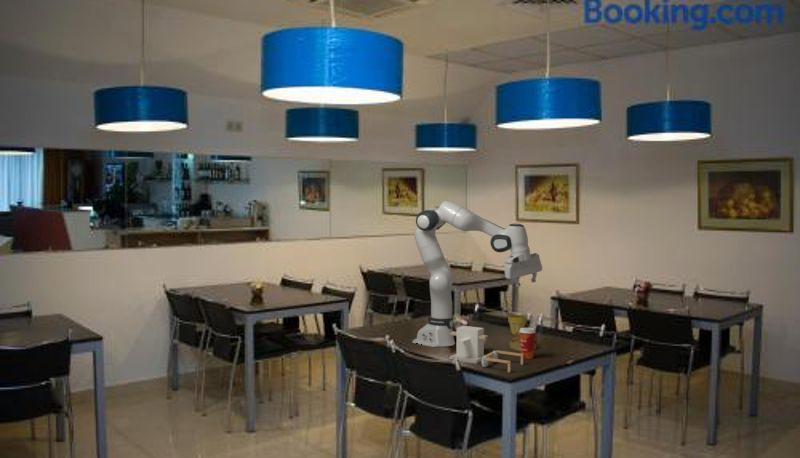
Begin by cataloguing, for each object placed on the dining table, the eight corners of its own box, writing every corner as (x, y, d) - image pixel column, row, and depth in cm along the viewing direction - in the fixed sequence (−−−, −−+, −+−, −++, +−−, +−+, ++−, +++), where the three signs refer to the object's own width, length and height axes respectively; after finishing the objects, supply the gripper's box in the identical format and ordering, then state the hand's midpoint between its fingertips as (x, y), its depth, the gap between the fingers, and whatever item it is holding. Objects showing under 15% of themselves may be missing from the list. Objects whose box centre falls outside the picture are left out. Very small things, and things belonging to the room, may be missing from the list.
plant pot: (526, 332, 379) (526, 315, 378) (526, 335, 368) (526, 318, 368) (508, 331, 380) (508, 314, 380) (507, 335, 370) (508, 317, 370)
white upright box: (490, 358, 316) (491, 328, 315) (477, 365, 303) (478, 334, 303) (456, 354, 325) (457, 324, 324) (443, 360, 313) (443, 329, 312)
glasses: (509, 372, 291) (509, 360, 291) (481, 368, 299) (481, 356, 298) (523, 364, 305) (523, 353, 305) (495, 360, 313) (496, 349, 312)
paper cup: (517, 356, 321) (517, 327, 321) (532, 355, 322) (532, 327, 321) (521, 360, 314) (521, 330, 313) (537, 359, 314) (537, 330, 314)
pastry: (525, 343, 349) (525, 328, 349) (541, 350, 335) (541, 334, 335) (503, 346, 344) (503, 330, 344) (518, 352, 330) (518, 336, 330)
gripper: (534, 252, 329) (538, 279, 330) (500, 260, 320) (505, 288, 321) (542, 252, 323) (547, 279, 324) (508, 261, 314) (513, 289, 315)
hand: (526, 284), depth 322 cm, fingers open, 8 cm apart
